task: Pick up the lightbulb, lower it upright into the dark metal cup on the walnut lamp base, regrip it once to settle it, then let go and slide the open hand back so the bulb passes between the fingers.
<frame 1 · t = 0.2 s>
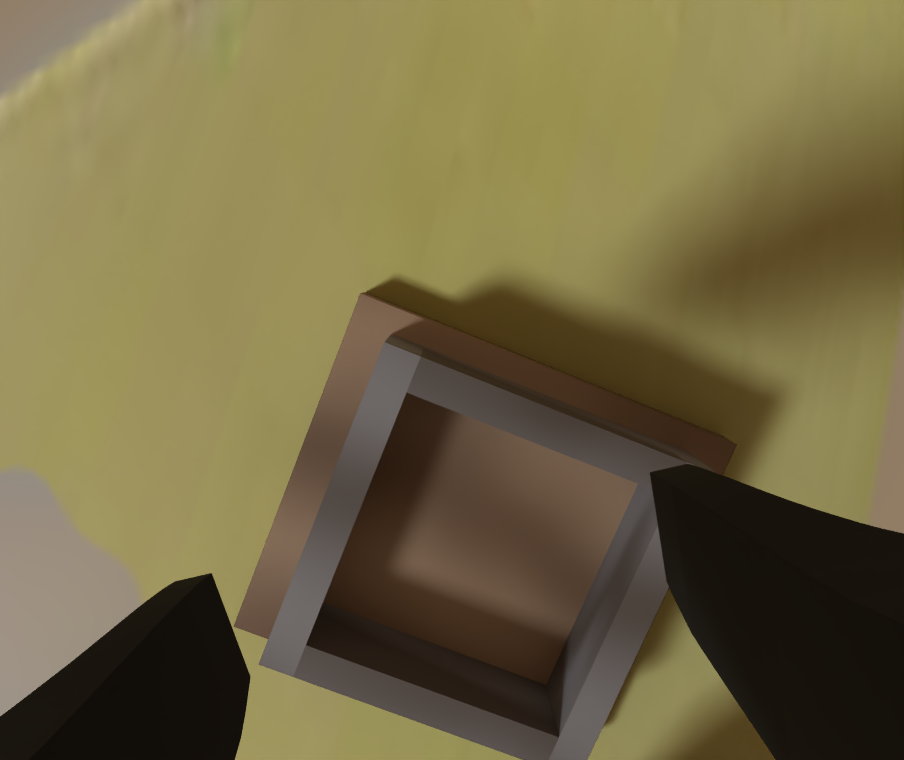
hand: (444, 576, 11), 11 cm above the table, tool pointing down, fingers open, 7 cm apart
socket base: (479, 525, 22), on the table
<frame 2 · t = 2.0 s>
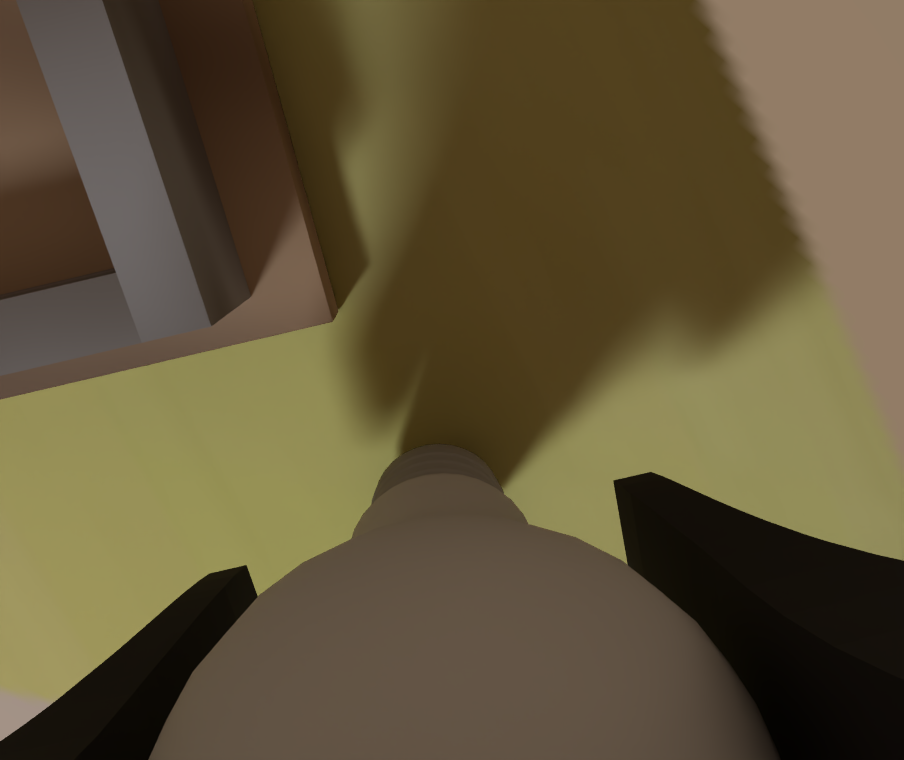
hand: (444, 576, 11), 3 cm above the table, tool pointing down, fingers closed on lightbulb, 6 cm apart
lightbulb: (436, 481, 15), on the table, touching gripper
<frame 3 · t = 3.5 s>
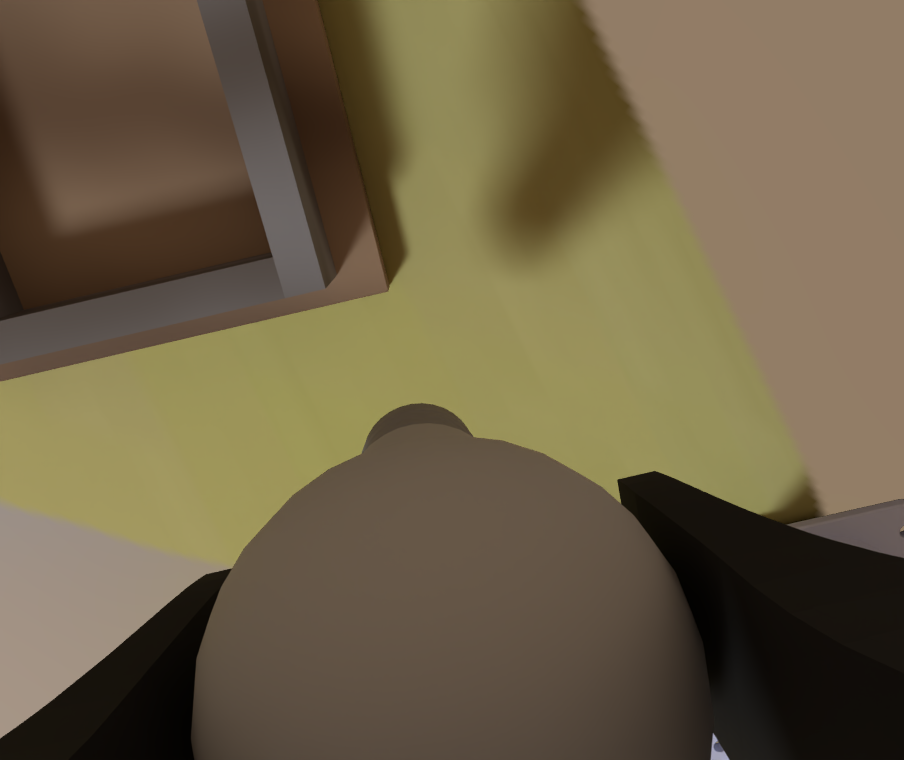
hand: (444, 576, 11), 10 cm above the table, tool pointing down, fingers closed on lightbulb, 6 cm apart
socket base: (123, 138, 19), on the table
lightbulb: (417, 439, 16), point 5 cm above the table, touching gripper
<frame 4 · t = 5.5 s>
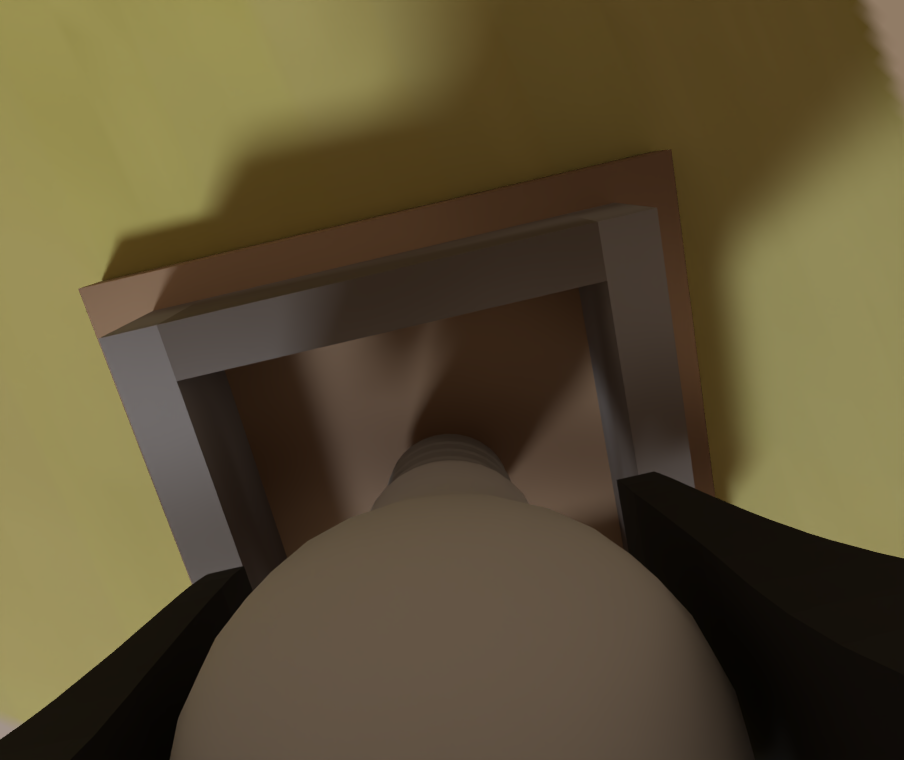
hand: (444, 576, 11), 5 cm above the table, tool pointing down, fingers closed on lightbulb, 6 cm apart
socket base: (435, 452, 16), on the table
lightbulb: (448, 469, 15), point 1 cm above the table, touching gripper, socket base
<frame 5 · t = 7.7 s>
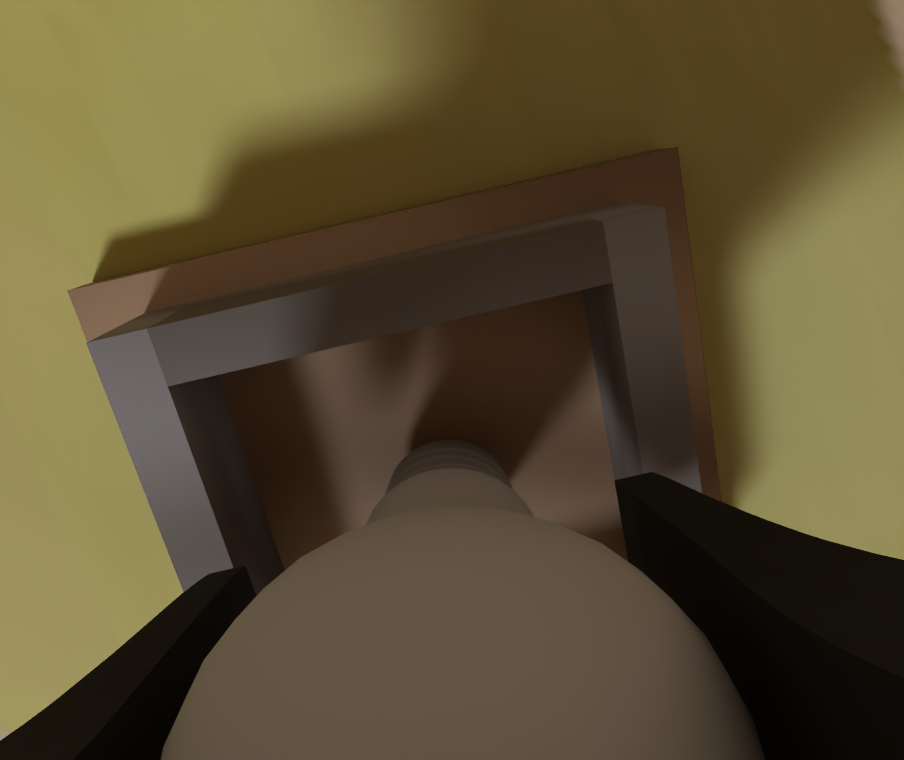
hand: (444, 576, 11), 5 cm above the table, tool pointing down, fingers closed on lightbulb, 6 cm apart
socket base: (434, 457, 16), on the table
lightbulb: (448, 476, 15), point 1 cm above the table, touching gripper, socket base
when the fingers open (5 cm above the table, at t = 9.5 s): lightbulb stays where it is, resting on socket base.
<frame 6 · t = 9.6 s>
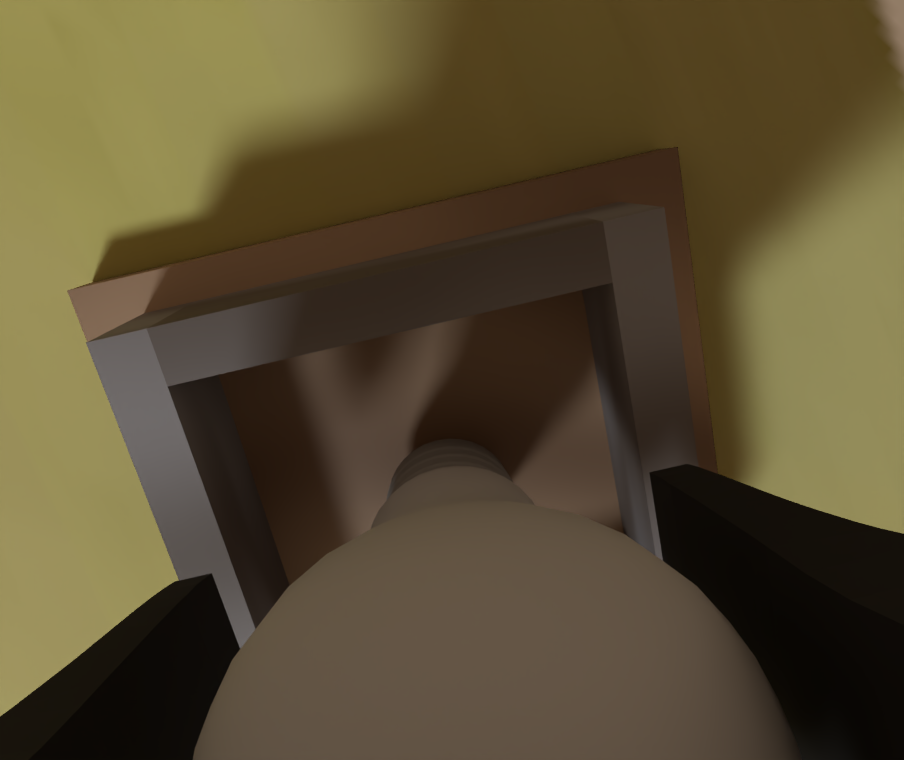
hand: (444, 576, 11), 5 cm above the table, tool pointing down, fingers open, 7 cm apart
socket base: (434, 457, 16), on the table
lightbulb: (447, 475, 15), point 1 cm above the table, touching socket base
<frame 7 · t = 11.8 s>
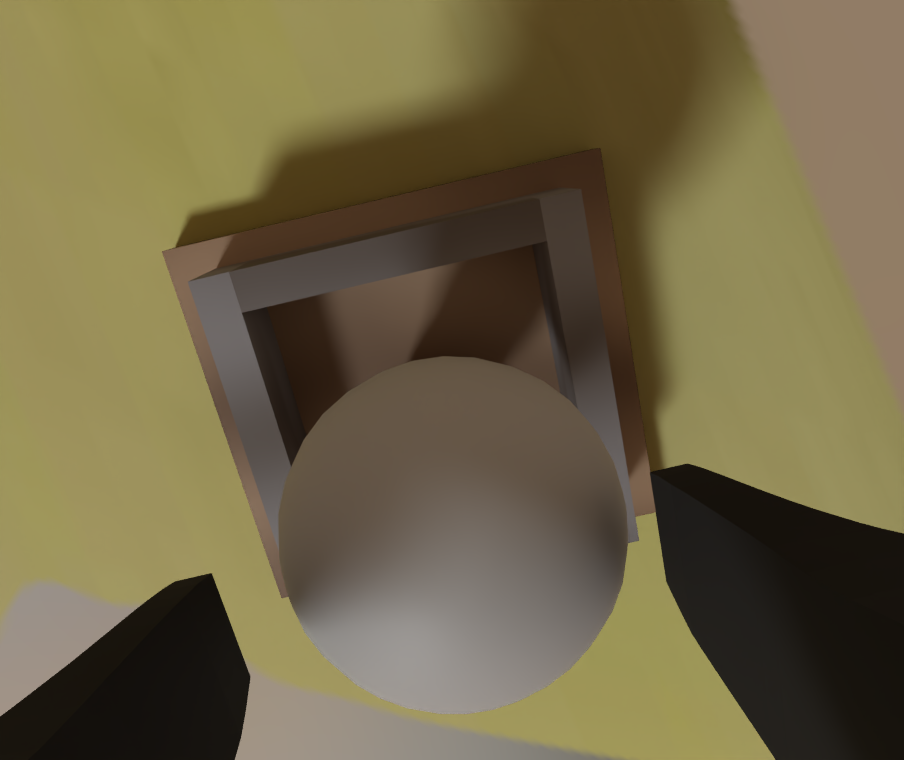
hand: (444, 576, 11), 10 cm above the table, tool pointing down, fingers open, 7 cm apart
socket base: (427, 381, 21), on the table
lightbulb: (436, 392, 20), point 1 cm above the table, touching socket base
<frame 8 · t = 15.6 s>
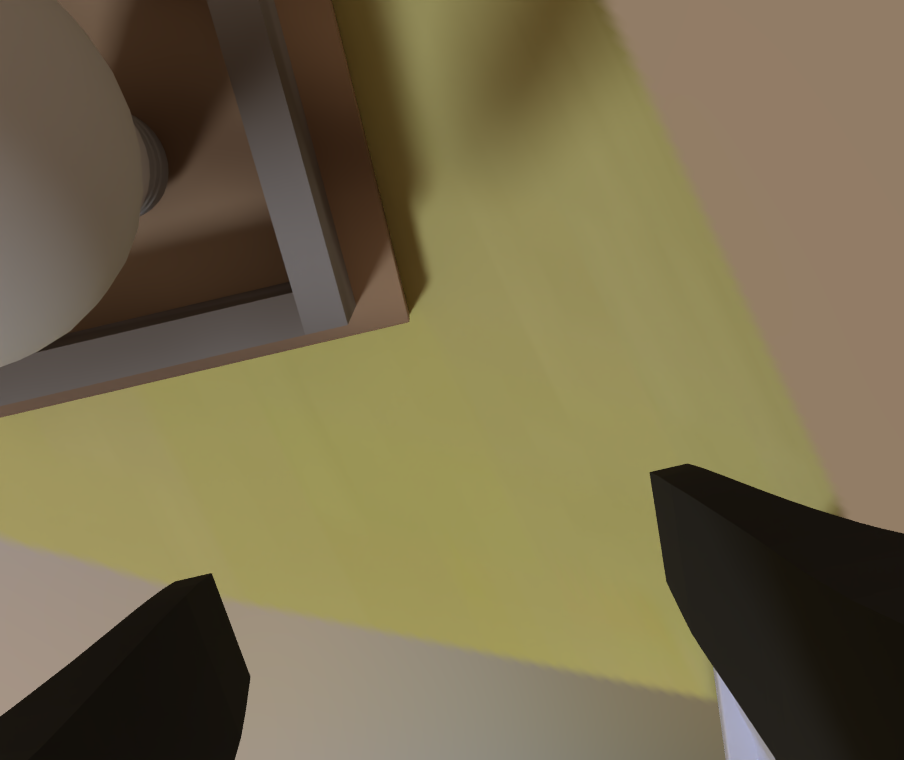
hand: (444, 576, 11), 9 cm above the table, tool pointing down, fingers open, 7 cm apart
socket base: (132, 163, 18), on the table
lightbulb: (130, 166, 17), point 1 cm above the table, touching socket base
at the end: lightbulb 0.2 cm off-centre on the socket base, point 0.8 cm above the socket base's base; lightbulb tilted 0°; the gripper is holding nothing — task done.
